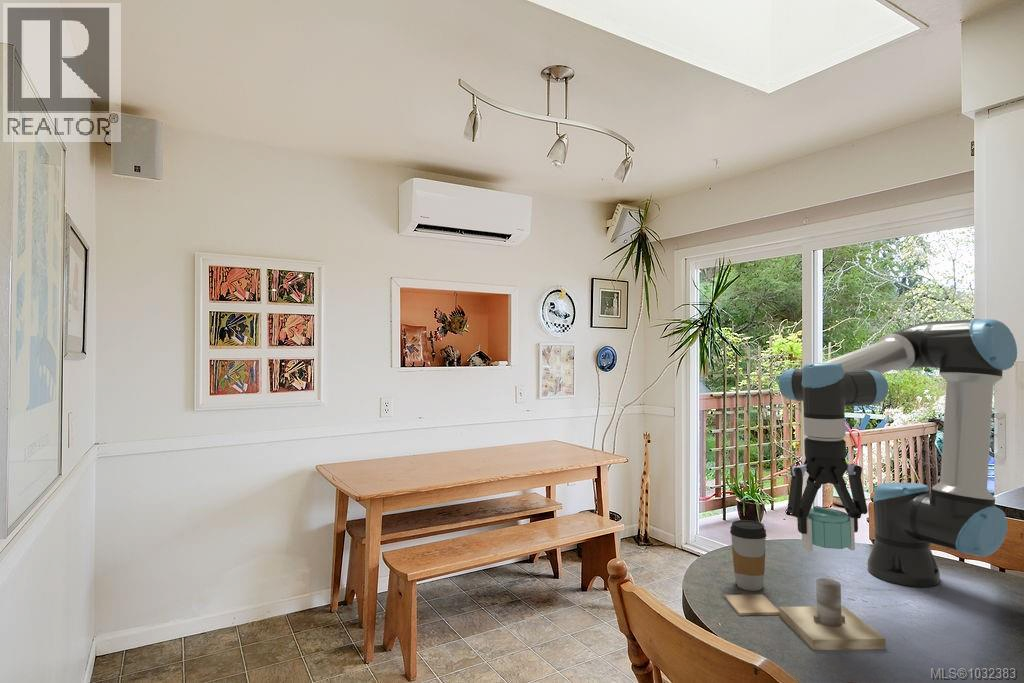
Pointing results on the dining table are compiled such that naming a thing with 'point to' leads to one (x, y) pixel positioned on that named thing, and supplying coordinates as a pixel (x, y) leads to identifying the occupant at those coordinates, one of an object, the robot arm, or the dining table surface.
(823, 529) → the cap
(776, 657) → the dining table surface
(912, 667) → the dining table surface
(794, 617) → the post base
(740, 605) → the coaster
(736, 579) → the coffee cup
